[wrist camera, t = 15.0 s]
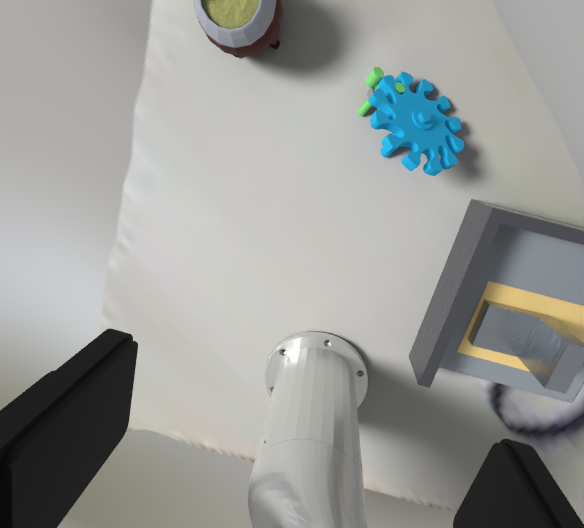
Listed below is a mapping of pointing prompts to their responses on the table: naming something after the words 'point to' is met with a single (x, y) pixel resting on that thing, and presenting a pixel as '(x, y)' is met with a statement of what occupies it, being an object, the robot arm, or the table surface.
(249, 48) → the mate gourd
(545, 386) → the bracket
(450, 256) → the tray
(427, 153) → the blue toy cog wheel
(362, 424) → the table surface
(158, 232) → the table surface
